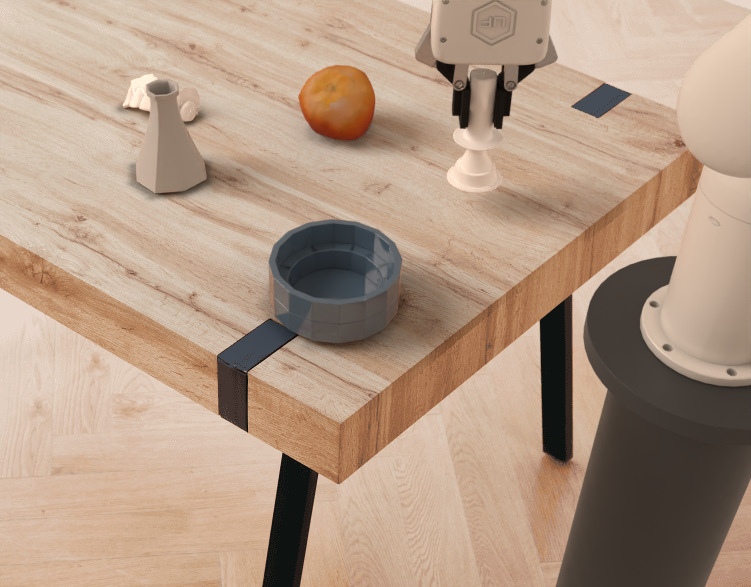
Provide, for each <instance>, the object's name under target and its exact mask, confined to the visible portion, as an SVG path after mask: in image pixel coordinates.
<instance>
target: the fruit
mask: <svg viewBox="0 0 751 587" xmlns="http://www.w3.org/2000/svg"><path fill="white" fill-rule="evenodd" d="M298 102H299V107H300V110H301V113H302V116H303V118H304V120H305V121H306V122H307V124H308V126H309V127H310V129H311V130H312V131H313V132H315V133H316V134H318V135H319V136H323V137H326V138H328V139H329V138H330V139H332V140H338V141H346V142H351V141H356V140H358V139H360V138H362V137H363V136H364V135H365V133H366V132H367V131H368V130H369V129H370V127H371V124H372V122H373V120H374V116H375V109H376V94H375V89H374V87H373V84H372V83H371V80H370V78H369V76H368V75H367V73H366V72H365V71H363V70H361V69H359V68H357V67H355V66H351V65H345V64H344V65H342V64H334V65H330V66H326V67H323V68H321V69H320V70H318V71H316V72H314V73H313V74H312V75H311V76H310V77H308V79H306V81H305V83H304V84H303V86H302V88H301V90H300V92H299V94H298Z"/></svg>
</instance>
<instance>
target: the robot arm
mask: <svg viewBox="0 0 751 587" xmlns="http://www.w3.org/2000/svg"><path fill="white" fill-rule="evenodd" d="M552 2H553V0H431V9H430V10H431V11H430V18H429V21H430V22H429V23H428V25H427V27H426V29H425V30H424V31H423V34H422V36H421V38H420V39H419V40H418V42H417V44H416V46H415V48H414V58H415V60H416V61H417V62H420V63H421V64H423V65H426V66H428V67H430V68H432V69H433V68H434V69H436V70H437V71H438V73H440V74H441V76H443V77H444V78H445V79H446V80H447V81H448V82H449V83H450V84H451V85H452V100H451V115H452V117H457V118H458V124H459V127H460V129H466V127H468V122H469V110H470V99H471V90H470V86H469V80H470V77H469V76H468V74H469V68H470V66H500V72H499V73H497V88H496V99H495V108H494V118H493V127H494V128H496V129H497V130H502V129H503V126H504V124H503V123H504V117H510V115H511V108H512V100H513V91H515V90H517V88H518V85H519V84H520V83H521V82H522V81H523V80H525V79H526V78H527V77H528V76H530V75H531V74H532V73H533V72H534V71H535V70H537V69H541V68H544V67H546V66H549V65H551V64H553V63H556V62H557V61H558V60H559V59H558V58H559V57H558V53H557V49H556V47H555V44H554V42H553V39H552V36H551V33H550V31H551V30H550V29H551V18H552V17H551V16H552ZM675 111H676V124H677V127H678V131H679V134H680V136H681V139H682V142H683V144H684V145H685V147H686V149H687V150H688V151H689V152H690V154H691V155H692V156H693V157H694V158H695V159H696V160H697V161H698V162H699V163H701V164H702V165H703V166H702V170H701V172H700V176H699V180H698V183H697V185H696V190H695V193H694V196H693V200H692V204H691V207H690V211H689V214H688V218H687V221H686V225H685V228H684V232H683V235H682V238H681V242H680V245H679V248H678V252H677V255H676V256H677V258H676V262H675V265H674V269H673V272H672V275H671V279H670V282H669V284H668V285H666V286H664V287H661V288H660V289H658V290H657V291H655V292H654V293H652V295H651V296H650V297H649V298H648V299H647V300H646V302H645V305H644V307H643V309H642V313H641V317H640V329H641V333H642V336H643V339H644V340H645V342H646V344H647V346H648V347H649V349H650V350H651V351H652V352H653V353H654V355H655V356H656V357H657V358H659V359H660V360H661V361H662V362H663V363H664V364H666V365H667V366H669V367H670V368H672V369H673V370H675V371H677V372H678V373H680V374H682V375H685V376H687V377H689V378H691V379H694V380H697V381H700V382H703V383H707V384H712V385H718V386H730V387H738V386H749V385H751V13H749V14H748V15H747V16H746V17H744V18H743V19H742V20H741V21H739V22H738V23H737V24H736V25H735V26H734V27H732V28H731V29H730V30H729V31H727V32H726V33H725V34H724V35H722V36H721V37H720V38H719V39H717V40H716V41H715V42H713V43H712V44H711V45H710V46H709V47H708V48H706V49H705V50H704V51H703V52H702V53H700V55H698V56H697V58H696V59H695V60H694V61H693V62H692V64H691V65H690V66H689V68H688V69H687V71H686V73H685V74H684V76H683V79H682V80H681V83H680V86H679V89H678V93H677V99H676V110H675Z"/></svg>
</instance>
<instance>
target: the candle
mask: <svg viewBox="0 0 751 587" xmlns="http://www.w3.org/2000/svg"><path fill="white" fill-rule="evenodd" d="M497 75H498V73H497V71H495V70H493V69H490V68H485V67H480V68H479V67H478V68H475V69H474V68H473V69H472V70H471V71H470V73H469V86H470V90H471V99H470V110H469V122H468V127H466V129H460V126H459V127H457V128H456V129H454V132H453V134H452V138H453V140H454V141H455V143H456V144H457V145H458V146H460V147H461V148H464V149H465V152H464V153H463V155H462V156H460V157H459V158H458V159H457V160H456V161H455V164H454V165H452V166H451V167H450V168H449V169H448V170H447V173H446V179H447V182H448V183H449V185H450V186H452V188H454V189H456V190H458V191H461V192H463V193H468V194H486V193H489V192H493V191H494V190H496V189H497V188H499V187H500V185H501V184H502V181H503V177H502V174H501V171H500V170H498V169H497V168H496V164H495V162H494V161H493V160H492V159H491V158H490V155H489V153H488V151H491V150H494V149H496V148H498V147H499V146H500V145H502V143H503V141H504V136H503V134H502V132H501V130H500V129H496V128H494V125H493V118H494V108H495V99H496V88H497Z"/></svg>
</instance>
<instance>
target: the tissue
mask: <svg viewBox="0 0 751 587" xmlns="http://www.w3.org/2000/svg"><path fill="white" fill-rule="evenodd" d="M154 80H159V79H158V77H157V76H154V73H150V74H143V75H142V76H141V77H137V78H134V79H131V80H130V86H129V88H128V90H127V95H126V97H125V100H124V102H123V103H122V108H124V109H127V108H132V109H133V108H135V109H136V108H139V110H141V111H145V112H149V113H150V105H151V104H150V97H148V96H147V94H146V84H148V83H150V82H152V81H154ZM200 97H201V96H200V94H199V92H198V90H197V88H196V87H194V86H192V87H184V88H181V89H179V95H178V96H177V104H178V107H179V111H180V114H181V117H182V120H183V122H191V121H193V120H194V118H195V117H196V116H199V111H200V99H201V98H200Z"/></svg>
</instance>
